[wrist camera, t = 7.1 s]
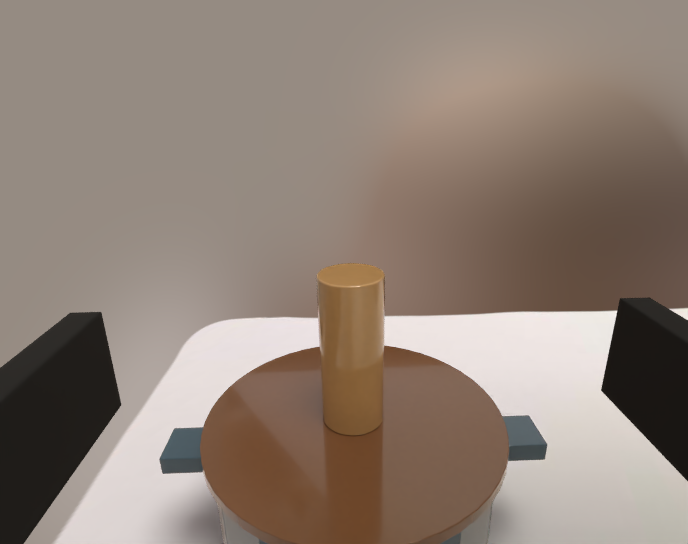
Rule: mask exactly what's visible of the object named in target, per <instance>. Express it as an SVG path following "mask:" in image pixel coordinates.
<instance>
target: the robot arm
mask: <svg viewBox="0 0 688 544" xmlns="http://www.w3.org/2000/svg"><path fill="white" fill-rule="evenodd" d="M601 391H602V392H603V393H604V394H605V395H606V396H607V397H608V398H609V399H610V400H611V401H612V402H613V403H614V404H615V405H616V406H617V408H618V409H619V410H620V411H621V412H622V413H623V414H624V415H625V416H626V417H627V418H628V419H629V420H630V421H631V422H632V423H633V424H634V425H635V426H636V427H637V429H638V430H639V431H640V432H641V433H642V434H643V435H644V436H645V437H646V438H647V439H648V440H649V441H650V442H651V443H652V444H653V445H654V446H655V447H656V448H657V449H658V451H659V452H660V453H661V454H662V455H663V456H664V457H665V458H666V459H667V460H668V461H669V462H670V463H671V464H672V465H673V466H674V467H675V468H676V469H677V470H678V472H679V473H680V474H681V475H682V476H683V477H684V478H685V479H686V480H687V481H688V320H686V319H684V318H683V317H681V316H679V315H678V314H676V313H674V312H673V311H671V310H669V309H668V308H666V307H664V306H662V305H661V304H659V303H658V302H656V301H654V300H653V299H651V298H620V301H619V306H618V311H617V316H616V321H615V325H614V330H613V335H612V340H611V345H610V350H609V355H608V360H607V365H606V369H605V374H604V379H603V384H602V389H601ZM120 406H121V402H120V397H119V392H118V387H117V383H116V378H115V374H114V369H113V364H112V360H111V355H110V350H109V346H108V341H107V336H106V332H105V327H104V323H103V318H102V313H101V312H89V313H88V312H87V313H86V312H85V313H70V314H68V315H67V316H66V317H64V318H63V319H62V320H61V321H59V322H58V323H57V324H56V325H54V326H53V327H52V328H51V329H49V330H48V331H47V332H45V333H44V334H43V335H42V336H40V337H39V338H38V339H36V340H35V341H34V342H33V343H32V344H30V345H29V346H28V347H26V348H25V349H24V350H23V351H21V352H20V353H19V354H18V355H16V356H15V357H14V358H12V359H11V360H10V361H9V362H7V363H6V364H5V365H3V366H2V367H1V368H0V544H24V542H25V541H26V539H27V538H28V537H29V535H30V534H31V532H32V531H33V529H34V528H35V527H36V525H37V524H38V522H39V521H40V520H41V518H42V517H43V515H44V514H45V513H46V511H47V509H48V508H49V507H50V505H51V504H52V502H53V501H54V500H55V498H56V497H57V495H58V494H59V493H60V491H61V490H62V488H63V487H64V485H65V484H66V483H67V481H68V480H69V478H70V477H71V476H72V474H73V473H74V471H75V470H76V468H77V467H78V466H79V464H80V463H81V461H82V460H83V459H84V457H85V456H86V454H87V453H88V452H89V450H90V449H91V447H92V446H93V444H94V443H95V442H96V440H97V439H98V437H99V436H100V434H101V433H102V432H103V430H104V429H105V427H106V426H107V425H108V423H109V422H110V420H111V419H112V417H113V416H114V415H115V413H116V412H117V410H118V409H119V407H120Z"/></svg>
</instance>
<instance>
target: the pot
mask: <svg viewBox="0 0 688 544" xmlns="http://www.w3.org/2000/svg"><path fill="white" fill-rule="evenodd" d="M502 417H503V420H504V422H505V425H506V429H507V433H508V437H509V457H508V461H518V460H544V459H545V455H546V449H547V443H546V442H545V440H544V439H543V437H542V436H541V434H540V432H539V431H538V429H537V428H536V426H535V425H534V423H533V421H532V420H531V418H530V417H529V416H502ZM202 431H203V427H202V428H175V429H174V430H173V432H172V434H171V436H170V439H169V441H168V443H167V445H166V447H165V449H164V451H163V453H162V455H161V457H160V464H161V469H162V473H163V474H168V473H194V472H203V470H202V464H201V455H200V442H201V434H202ZM491 509H492V503H491V505H490V506H489V507H488V508H487V509H486V510H485V511H484V512H483V514H482V515H481V516H480V517H479V518H478V519H477V520H476V521H475V522H473V523H472V524H471V525H469V526H468V527H467V528H465V529H464V530H463V531H461V532H460V533H459V534H457V535H455V536H453V537H451V538H449V539H448V540H446V541H444V542H442V543H440V544H488V535H489V527H490V518H491ZM218 511H219V517H220V524H221V530H222V537H223V543H224V544H268V543H266V542H263V541H261V540H260V539H258V538H257V537H255V536H253V535H252V534H250V533H248V532H247V531H245V530H243V529H242V528H241V527H240V526H239V525H238V524H236V523H235V522H234V521H233V520H232V519H231V518H229V517H228V516H227V515H226V513H225V512H224V511H223V510H222V509H221V507H220V506H219V505H218Z"/></svg>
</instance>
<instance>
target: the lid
mask: <svg viewBox="0 0 688 544" xmlns="http://www.w3.org/2000/svg"><path fill="white" fill-rule="evenodd" d="M316 278H317V300H318V321H319V343H320V347H315V348H310V349H305V350H301V351H298V352H294V353H290V354H287V355H285V356H282V357H279V358H276V359H274V360H272V361H269V362H267V363H265V364H263V365H261V366H259V367H257V368H256V369H254V370H252V371H250V372H249V373H247V374H246V375H244V376H243V377H241V378H240V379H239V380H237V381H236V382H235V383H234V384H233V385H232V386H230V387H229V388H228V389H227V390H226V391H225V392H224V393H223V395H222V396H221V397H220V398H219V399H218V401H217V402H216V403H215V405H214V406H213V408H212V409H211V411H210V413H209V415H208V417H207V419H206V421H205V424H204V427H203V431H202V434H201V442H200V455H201V464H202V470H203V474H204V477H205V480H206V484H207V487H208V489H209V490H210V492H211V494H212V496H213V498H214V499H215V501H216V502H217V504H218V505H219V506H220V507H221V509H222V510H223V511H224V512H225V513H226V515H227V516H228V517H229V518H231V519H232V520H233V521H234V522H235V523H236V524H238V525H239V526H240V527H241V528H242V529H243V530H245V531H247V532H248V533H250V534H252V535H253V536H255V537H257V538H258V539H260V540H261V541H263V542H266V543H268V544H440V543H442V542H444V541H446V540H448V539H449V538H451V537H453V536H455V535H457V534H459V533H460V532H461V531H463V530H464V529H465V528H467V527H468V526H469V525H471V524H472V523H473V522H475V521H476V520H477V519H478V518H479V517H480V516H481V515H482V514H483V512H484V511H485V510H486V509H487V508H488V507H489V506H490V505H491V503H492V502H493V500H494V498H495V497H496V495H497V494H498V492H499V491H500V488H501V486H502V483H503V480H504V478H505V475H506V470H507V464H508V457H509V437H508V433H507V429H506V425H505V422H504V420H503V417H502V415H501V413H500V411H499V409H498V408H497V406H496V405H495V403H494V402H493V400H492V399H491V398H490V397H489V395H488V394H487V393H486V392H485V391H484V390H483V389H482V388H481V387H480V386H479V385H478V384H477V383H475V382H474V381H473V380H472V379H471V378H469V377H468V376H466V375H465V374H463V373H462V372H461V371H459V370H457V369H455V368H453V367H452V366H450V365H448V364H446V363H444V362H442V361H439V360H437V359H435V358H432V357H429V356H427V355H424V354H421V353H417V352H414V351H410V350H406V349H401V348H396V347H390V346H384V306H385V302H384V301H385V274H384V272H383V271H382V270H381V269H379V268H377V267H374V266H371V265H366V264H356V263H348V264H338V265H333V266H330V267H326V268H324V269H322V270H320V271H319V272H318V274H317V276H316Z"/></svg>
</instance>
